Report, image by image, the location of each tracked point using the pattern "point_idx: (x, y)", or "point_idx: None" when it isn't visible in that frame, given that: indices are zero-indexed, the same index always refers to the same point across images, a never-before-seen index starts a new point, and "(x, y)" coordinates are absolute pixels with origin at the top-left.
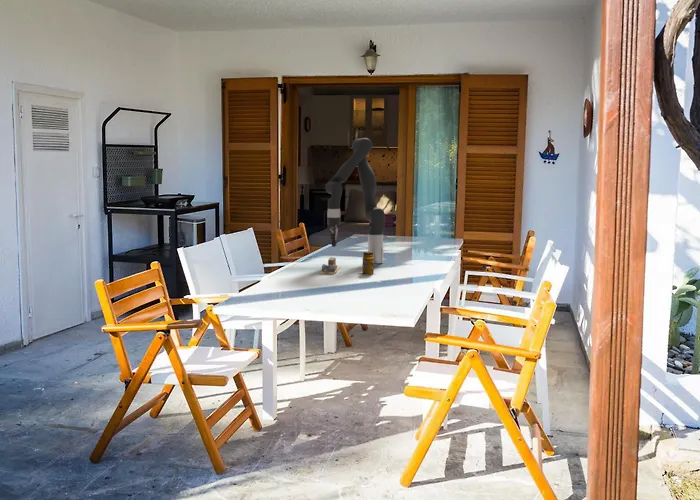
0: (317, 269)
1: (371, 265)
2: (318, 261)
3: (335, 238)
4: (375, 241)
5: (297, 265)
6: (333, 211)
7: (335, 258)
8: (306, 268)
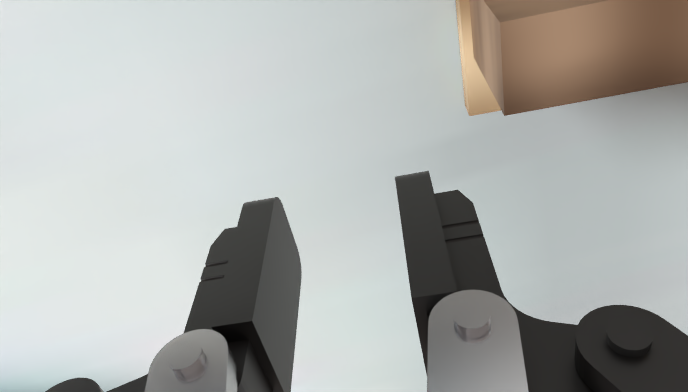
0: (626, 156)
1: None
2: (51, 313)
3: (643, 325)
4: None
5: (379, 381)
6: None
7: (524, 12)
8: (555, 274)
